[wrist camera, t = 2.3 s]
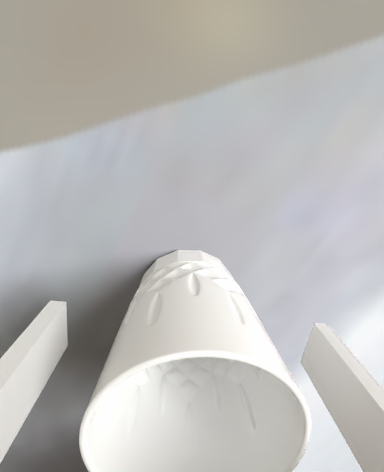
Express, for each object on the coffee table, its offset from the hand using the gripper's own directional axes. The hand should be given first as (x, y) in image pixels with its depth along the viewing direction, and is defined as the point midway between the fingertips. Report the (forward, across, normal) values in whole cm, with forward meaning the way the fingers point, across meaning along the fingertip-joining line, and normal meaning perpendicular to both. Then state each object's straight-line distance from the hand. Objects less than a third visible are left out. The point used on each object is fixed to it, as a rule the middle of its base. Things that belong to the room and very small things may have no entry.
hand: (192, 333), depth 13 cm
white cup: (+5, 0, 0) cm, 5 cm away
